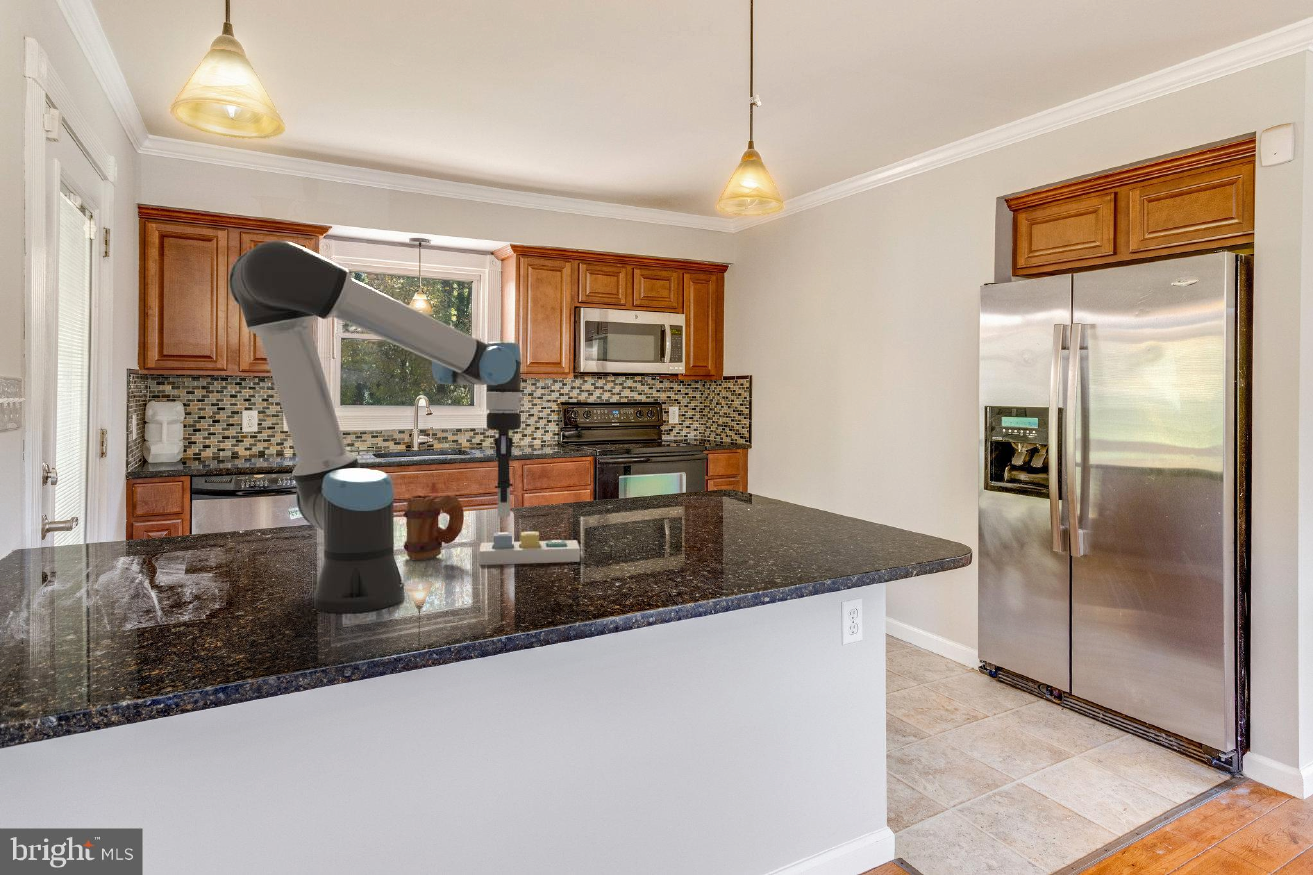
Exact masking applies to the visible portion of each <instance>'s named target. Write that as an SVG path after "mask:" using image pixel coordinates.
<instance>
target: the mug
mask: <svg viewBox="0 0 1313 875" xmlns="http://www.w3.org/2000/svg"><path fill="white" fill-rule="evenodd" d="M406 498H407V500H406V508H405V509H404V512H403V514H402V515H403V517H405V519H406V522H405V523H406V524H405V527H406V540H405V541H404V545H403V549H404V550H405V551H406V555H407V557H408V558H409V559H411V560H413V561H426V560H431V559H435V558H437V557H438V556H440V555H441V554H442V550H441V549H442V547H443V543H444V545H445V544H446V545H447V544H451V543H453V542H454V541H455V540H456V539H457V538H458V537H459V535H460V534H461V532H462V530H463V525H464V518H465V514H464V508H463V505H462V503H461V501H460V499H459V498H458V496H456V495H455V494H453V493H448V494H445V495H443V496H442V497H441V498H439V499H438V498H437V496H436V495H430V494H427V495H425V494H424V495H421V494H416V495H409V496H407V497H406ZM441 511H442V512H444V513H445V514H446V515H447V516H449V517H448V524H447V525H446V527H445V528H443V527H441V526H439V516H441Z"/></svg>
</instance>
